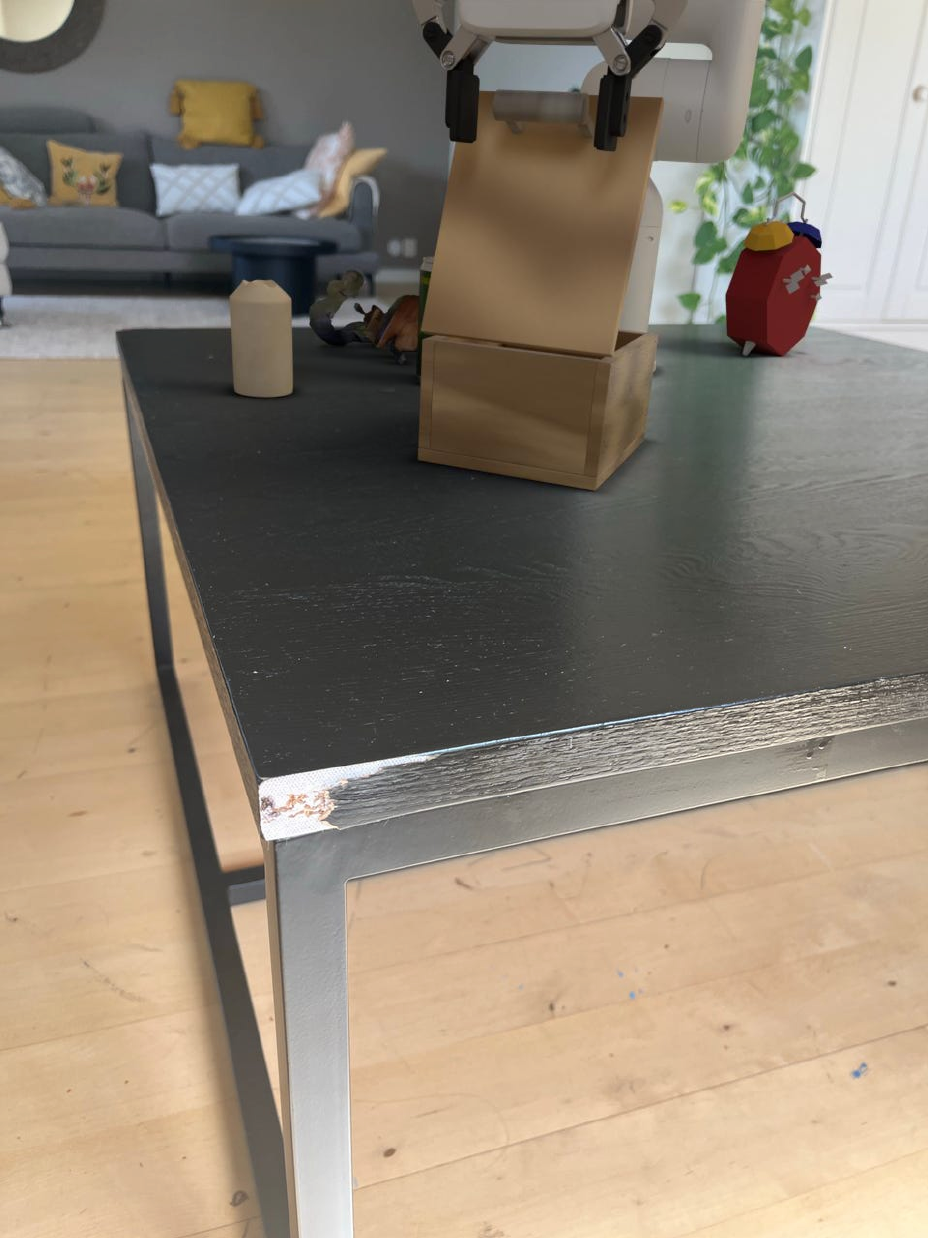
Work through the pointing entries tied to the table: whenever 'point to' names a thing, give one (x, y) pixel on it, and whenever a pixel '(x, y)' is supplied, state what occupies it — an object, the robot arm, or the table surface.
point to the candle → (261, 339)
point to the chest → (534, 408)
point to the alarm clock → (775, 285)
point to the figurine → (367, 319)
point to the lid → (541, 223)
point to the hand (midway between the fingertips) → (532, 145)
